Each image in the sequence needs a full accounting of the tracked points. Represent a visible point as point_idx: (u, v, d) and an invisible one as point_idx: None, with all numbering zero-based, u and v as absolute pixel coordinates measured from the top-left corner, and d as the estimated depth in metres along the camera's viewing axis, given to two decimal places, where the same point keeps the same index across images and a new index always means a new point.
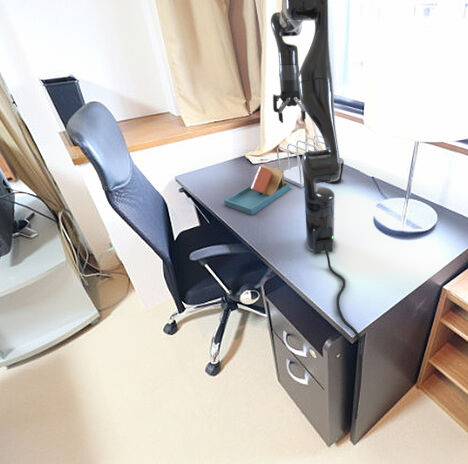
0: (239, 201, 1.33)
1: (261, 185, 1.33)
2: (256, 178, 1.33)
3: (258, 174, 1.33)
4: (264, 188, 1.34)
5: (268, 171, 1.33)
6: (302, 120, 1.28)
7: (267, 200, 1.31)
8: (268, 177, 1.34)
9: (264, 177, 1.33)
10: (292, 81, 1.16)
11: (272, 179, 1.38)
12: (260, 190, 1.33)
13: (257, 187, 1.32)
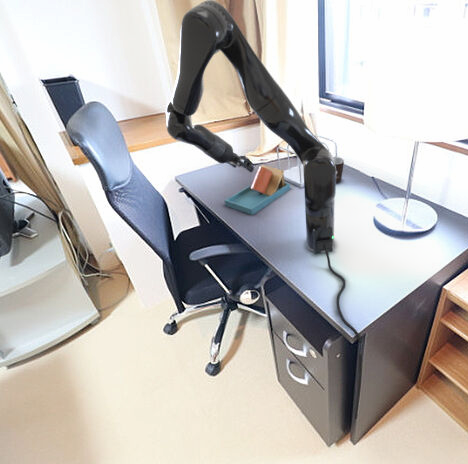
0: (239, 201, 1.33)
1: (261, 185, 1.33)
2: (256, 178, 1.33)
3: (258, 174, 1.33)
4: (264, 188, 1.34)
5: (268, 171, 1.33)
6: (250, 171, 1.22)
7: (267, 200, 1.31)
8: (268, 177, 1.34)
9: (264, 177, 1.33)
10: (214, 159, 1.10)
11: (272, 179, 1.38)
12: (260, 190, 1.33)
13: (257, 187, 1.32)
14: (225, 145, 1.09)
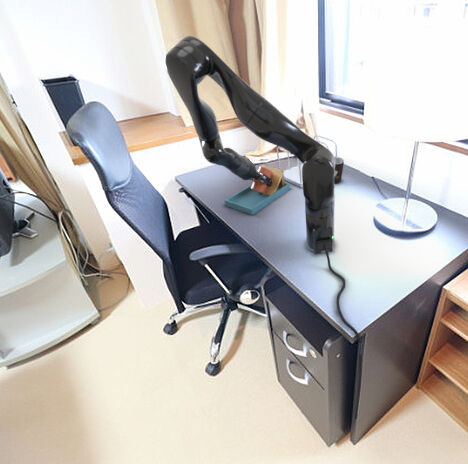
0: (239, 201, 1.33)
1: (261, 185, 1.33)
2: None
3: None
4: (264, 188, 1.34)
5: (268, 171, 1.33)
6: None
7: (267, 200, 1.31)
8: None
9: None
10: (239, 176, 1.23)
11: (272, 179, 1.38)
12: (260, 190, 1.33)
13: (257, 187, 1.32)
14: (249, 164, 1.22)
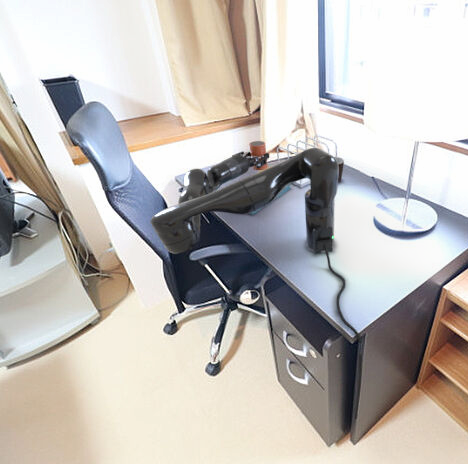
0: None
1: None
2: None
3: (252, 154, 1.27)
4: None
5: (260, 147, 1.25)
6: None
7: None
8: (263, 152, 1.27)
9: (259, 155, 1.26)
10: None
11: None
12: (262, 168, 1.30)
13: None
14: (239, 164, 1.17)
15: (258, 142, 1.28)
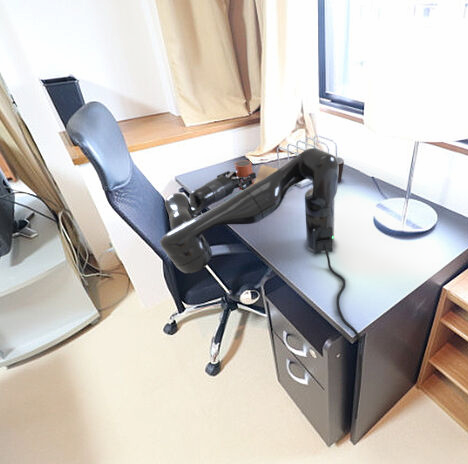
0: None
1: None
2: None
3: (238, 174, 1.23)
4: None
5: (245, 167, 1.21)
6: None
7: None
8: (249, 172, 1.23)
9: (245, 175, 1.23)
10: None
11: None
12: None
13: None
14: (223, 187, 1.13)
15: (244, 162, 1.24)
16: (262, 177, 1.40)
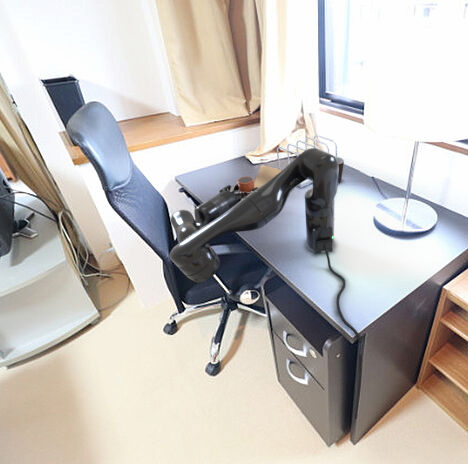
0: None
1: None
2: None
3: (241, 190, 1.27)
4: None
5: (248, 184, 1.25)
6: None
7: None
8: (251, 188, 1.27)
9: None
10: None
11: None
12: None
13: None
14: (226, 202, 1.17)
15: (246, 178, 1.28)
16: (262, 177, 1.40)
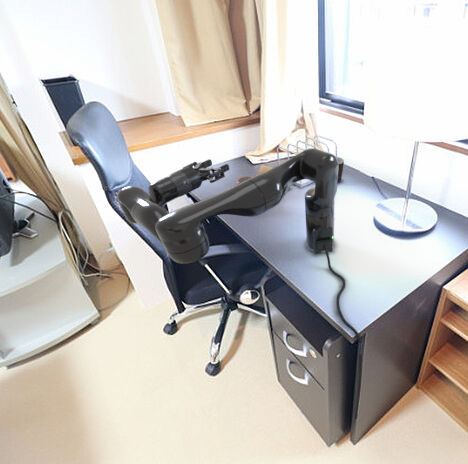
0: None
1: None
2: None
3: None
4: None
5: None
6: None
7: None
8: None
9: None
10: None
11: None
12: None
13: None
14: (188, 179, 1.00)
15: (246, 178, 1.28)
16: None
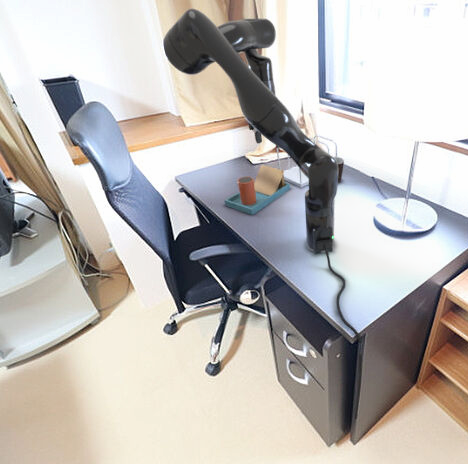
0: (239, 201, 1.33)
1: (249, 200, 1.29)
2: (241, 194, 1.28)
3: (241, 190, 1.27)
4: (253, 199, 1.30)
5: (248, 184, 1.25)
6: (276, 146, 1.07)
7: (267, 200, 1.31)
8: (251, 188, 1.27)
9: (247, 191, 1.27)
10: None
11: (272, 179, 1.38)
12: (250, 203, 1.30)
13: (247, 203, 1.30)
14: (275, 95, 1.00)
15: (246, 178, 1.28)
16: (262, 177, 1.40)
